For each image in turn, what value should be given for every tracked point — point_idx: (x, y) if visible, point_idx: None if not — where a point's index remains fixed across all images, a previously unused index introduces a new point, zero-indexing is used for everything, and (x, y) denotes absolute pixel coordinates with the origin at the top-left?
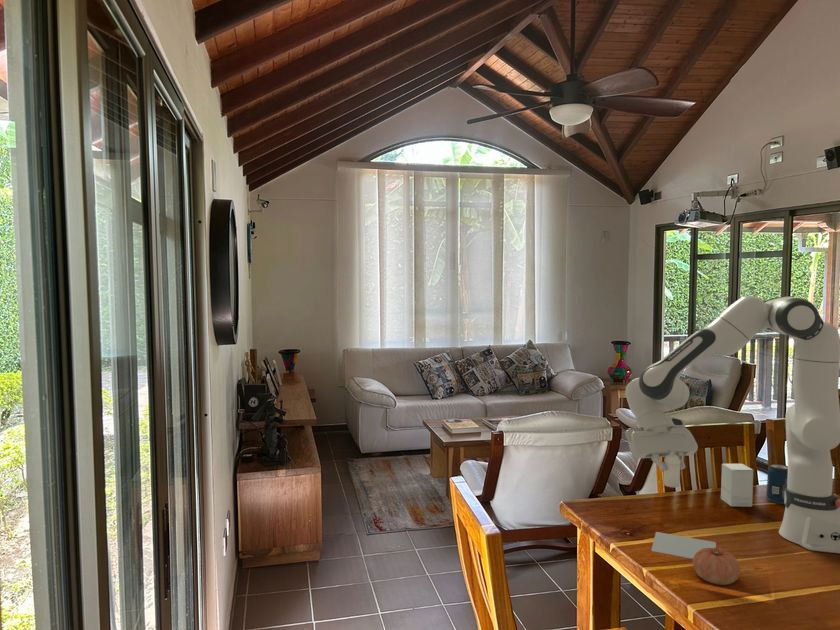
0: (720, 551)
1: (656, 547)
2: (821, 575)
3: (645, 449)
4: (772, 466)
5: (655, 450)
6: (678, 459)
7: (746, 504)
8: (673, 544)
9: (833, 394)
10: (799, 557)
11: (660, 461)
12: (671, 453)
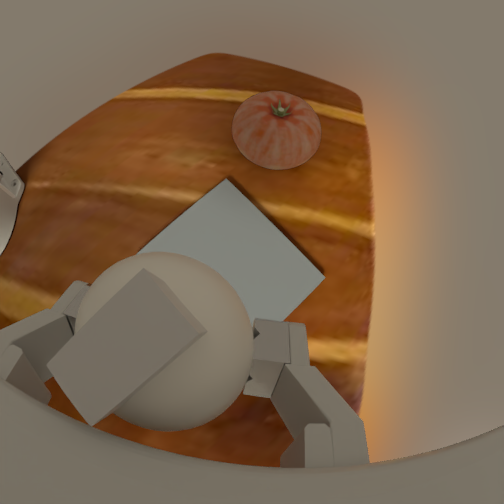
0: (265, 112)
1: (300, 288)
2: (93, 119)
3: (484, 469)
4: None
5: (369, 486)
6: (126, 259)
7: None
8: (245, 287)
9: None
10: (56, 170)
11: (310, 374)
12: (178, 311)
